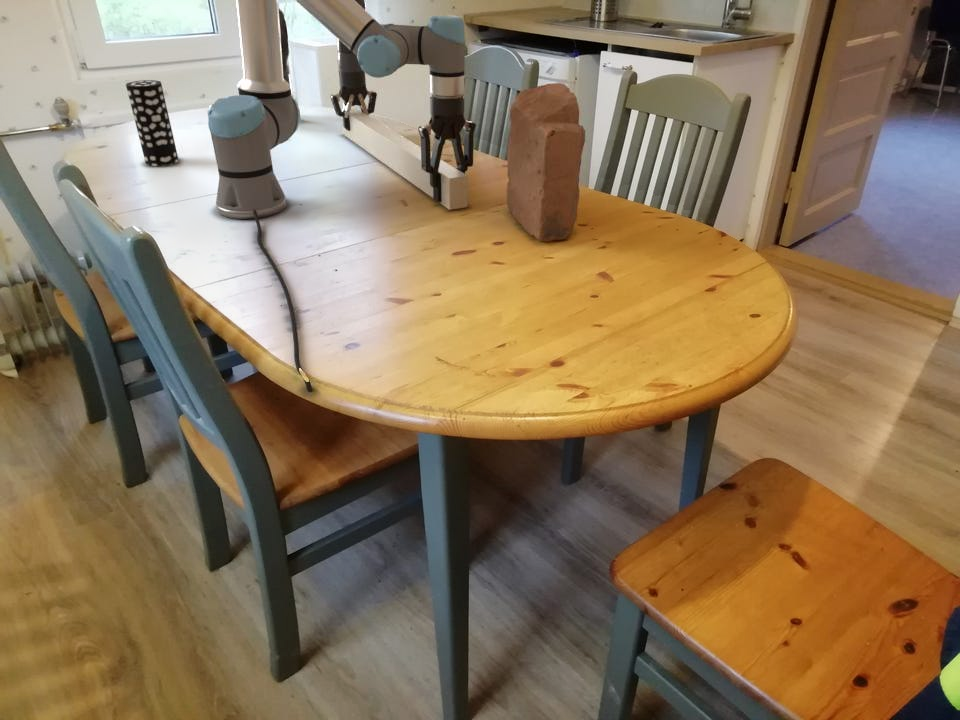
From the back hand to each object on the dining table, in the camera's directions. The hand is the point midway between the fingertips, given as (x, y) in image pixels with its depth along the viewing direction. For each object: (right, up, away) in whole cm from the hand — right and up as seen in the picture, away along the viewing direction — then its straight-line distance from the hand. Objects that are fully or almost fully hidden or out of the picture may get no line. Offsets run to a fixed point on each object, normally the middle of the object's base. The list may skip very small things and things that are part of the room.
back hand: (356, 128), depth 206 cm
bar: (+15, -17, -21) cm, 31 cm away
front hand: (+29, -31, -44) cm, 61 cm away
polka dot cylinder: (-49, -7, -25) cm, 56 cm away
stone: (+51, -39, -55) cm, 84 cm away
